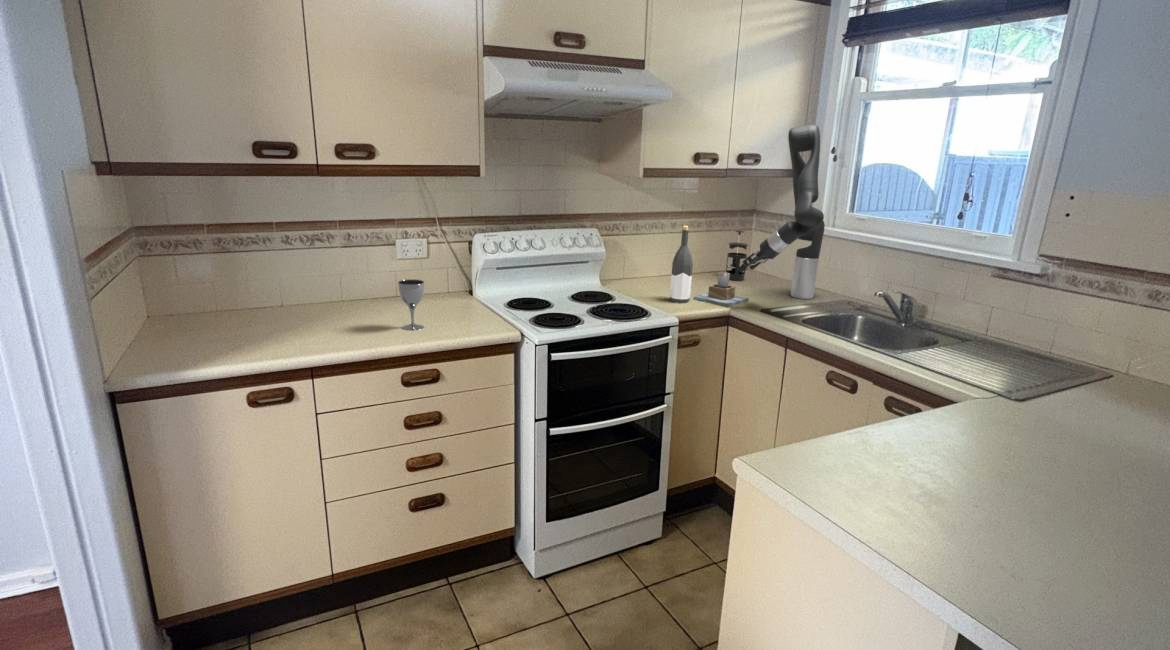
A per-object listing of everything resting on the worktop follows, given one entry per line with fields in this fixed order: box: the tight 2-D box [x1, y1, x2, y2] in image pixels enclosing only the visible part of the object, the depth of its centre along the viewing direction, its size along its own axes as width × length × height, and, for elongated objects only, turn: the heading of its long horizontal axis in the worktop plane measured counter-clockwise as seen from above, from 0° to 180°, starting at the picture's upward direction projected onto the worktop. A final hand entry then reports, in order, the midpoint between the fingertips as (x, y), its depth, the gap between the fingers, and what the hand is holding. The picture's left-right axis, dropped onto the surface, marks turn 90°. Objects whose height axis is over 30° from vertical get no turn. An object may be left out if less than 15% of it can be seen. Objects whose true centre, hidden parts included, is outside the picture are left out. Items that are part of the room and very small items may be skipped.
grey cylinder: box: [716, 271, 730, 289], centre depth 256 cm, size 4×4×10 cm
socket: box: [693, 283, 749, 308], centre depth 257 cm, size 16×16×6 cm
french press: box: [725, 230, 749, 282], centre depth 297 cm, size 12×9×23 cm
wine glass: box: [397, 278, 425, 331], centre depth 202 cm, size 8×8×15 cm
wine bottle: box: [669, 225, 694, 304], centre depth 249 cm, size 8×8×30 cm
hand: (744, 269), depth 248 cm, fingers open, 8 cm apart
